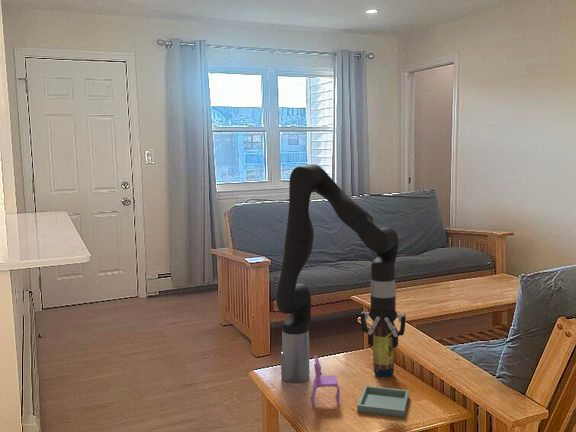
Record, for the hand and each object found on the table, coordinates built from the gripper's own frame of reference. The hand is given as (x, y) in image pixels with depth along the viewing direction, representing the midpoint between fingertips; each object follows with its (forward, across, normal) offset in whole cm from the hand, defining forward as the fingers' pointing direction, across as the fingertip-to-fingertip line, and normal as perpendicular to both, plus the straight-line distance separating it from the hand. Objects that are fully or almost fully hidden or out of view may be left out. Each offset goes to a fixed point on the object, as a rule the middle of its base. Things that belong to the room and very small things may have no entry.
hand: (383, 346), depth 167 cm
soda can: (+19, -3, +22) cm, 29 cm away
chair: (+19, -18, -3) cm, 26 cm away
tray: (+19, 0, 0) cm, 19 cm away
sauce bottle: (+7, 0, 0) cm, 7 cm away
